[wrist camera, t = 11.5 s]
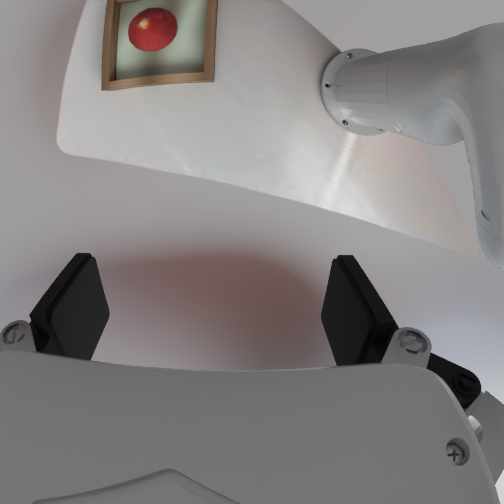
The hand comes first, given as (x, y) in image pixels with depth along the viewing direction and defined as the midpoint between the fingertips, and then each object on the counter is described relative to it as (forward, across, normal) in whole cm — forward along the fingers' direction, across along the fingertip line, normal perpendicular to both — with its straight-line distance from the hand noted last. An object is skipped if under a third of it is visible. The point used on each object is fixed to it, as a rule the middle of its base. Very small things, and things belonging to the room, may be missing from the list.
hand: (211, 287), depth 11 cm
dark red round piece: (+29, +9, -16) cm, 35 cm away
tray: (+30, +9, -16) cm, 36 cm away
